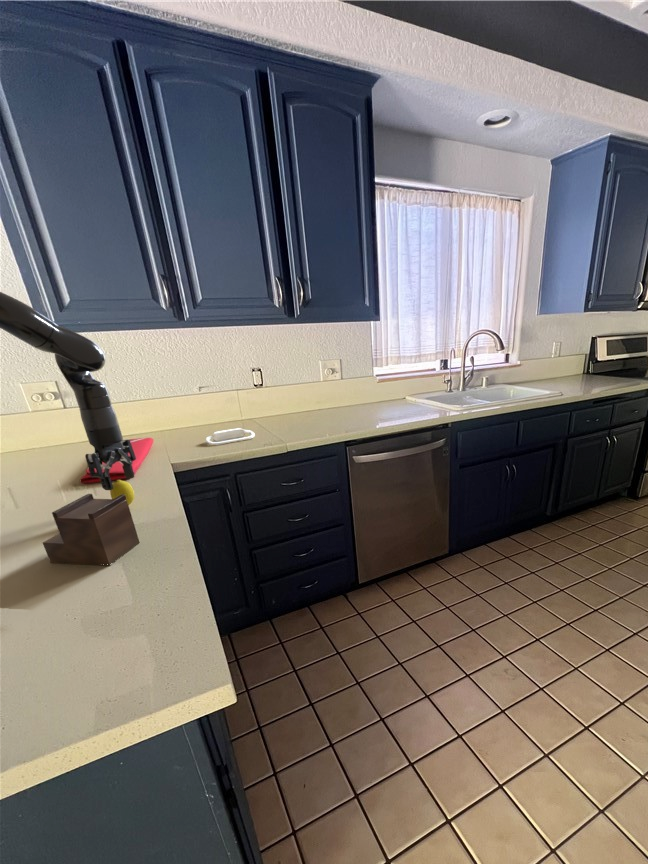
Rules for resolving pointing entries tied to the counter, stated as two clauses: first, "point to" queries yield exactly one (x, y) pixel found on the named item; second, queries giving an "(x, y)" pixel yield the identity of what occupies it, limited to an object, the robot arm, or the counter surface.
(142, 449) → the folded red towel
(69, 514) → the wooden step block
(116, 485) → the lemon
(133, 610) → the counter surface
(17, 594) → the counter surface
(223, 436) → the white butter dish
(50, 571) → the counter surface
